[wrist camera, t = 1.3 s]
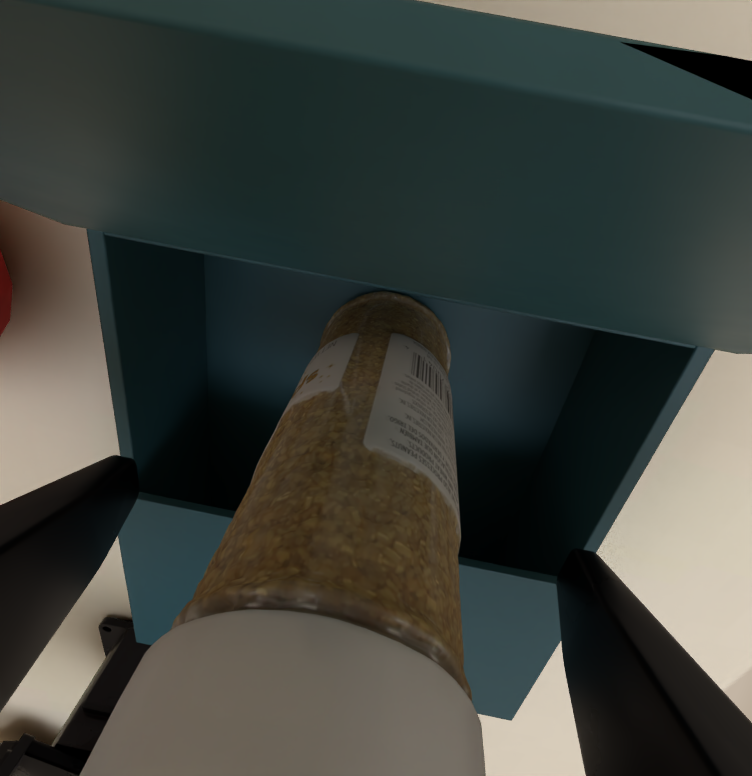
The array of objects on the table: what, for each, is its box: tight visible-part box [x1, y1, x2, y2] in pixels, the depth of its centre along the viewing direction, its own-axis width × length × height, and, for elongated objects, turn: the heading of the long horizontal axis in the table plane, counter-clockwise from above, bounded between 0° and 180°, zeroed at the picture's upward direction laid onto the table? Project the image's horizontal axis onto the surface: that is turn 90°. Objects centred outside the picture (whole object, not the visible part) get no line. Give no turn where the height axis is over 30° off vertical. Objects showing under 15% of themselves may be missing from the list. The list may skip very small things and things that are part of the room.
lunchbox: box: [87, 229, 715, 720], centre depth 16 cm, size 15×14×6 cm
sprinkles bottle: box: [79, 291, 486, 776], centre depth 10 cm, size 5×5×14 cm
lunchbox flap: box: [0, 0, 752, 354], centre depth 6 cm, size 7×14×1 cm
